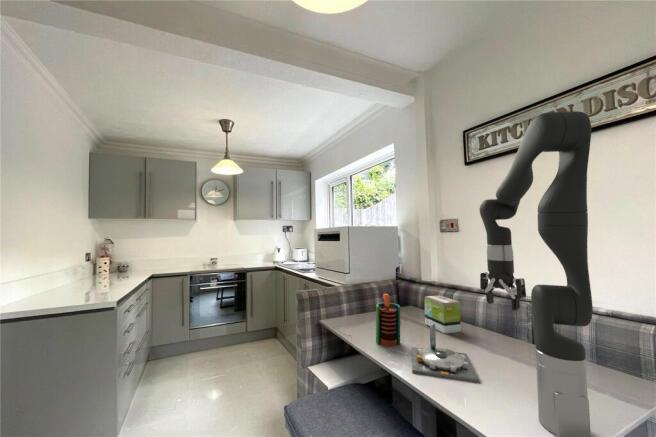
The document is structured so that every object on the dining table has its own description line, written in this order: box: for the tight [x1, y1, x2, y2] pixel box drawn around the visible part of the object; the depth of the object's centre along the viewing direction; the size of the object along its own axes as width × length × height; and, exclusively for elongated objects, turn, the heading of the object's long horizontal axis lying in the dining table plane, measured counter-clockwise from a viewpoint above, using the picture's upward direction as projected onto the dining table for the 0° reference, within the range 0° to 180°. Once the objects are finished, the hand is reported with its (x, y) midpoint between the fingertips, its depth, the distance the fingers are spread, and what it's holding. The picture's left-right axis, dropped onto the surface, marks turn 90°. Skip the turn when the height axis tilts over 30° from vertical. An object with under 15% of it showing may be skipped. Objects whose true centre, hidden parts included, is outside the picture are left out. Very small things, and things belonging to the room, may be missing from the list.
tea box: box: [424, 295, 462, 334], centre depth 137 cm, size 15×10×15 cm
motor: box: [375, 293, 401, 347], centre depth 118 cm, size 10×9×20 cm
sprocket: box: [417, 324, 468, 372], centre depth 97 cm, size 17×17×10 cm
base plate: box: [411, 346, 480, 383], centre depth 97 cm, size 20×20×1 cm
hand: (502, 306), depth 91 cm, fingers open, 8 cm apart
